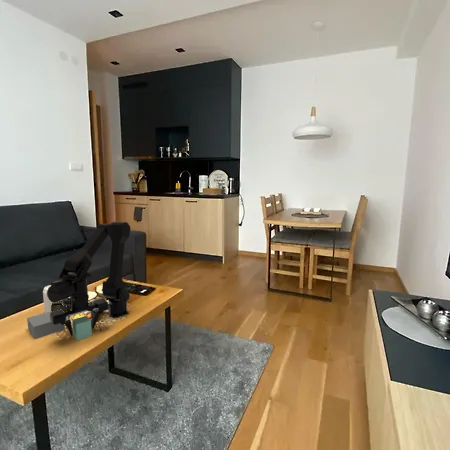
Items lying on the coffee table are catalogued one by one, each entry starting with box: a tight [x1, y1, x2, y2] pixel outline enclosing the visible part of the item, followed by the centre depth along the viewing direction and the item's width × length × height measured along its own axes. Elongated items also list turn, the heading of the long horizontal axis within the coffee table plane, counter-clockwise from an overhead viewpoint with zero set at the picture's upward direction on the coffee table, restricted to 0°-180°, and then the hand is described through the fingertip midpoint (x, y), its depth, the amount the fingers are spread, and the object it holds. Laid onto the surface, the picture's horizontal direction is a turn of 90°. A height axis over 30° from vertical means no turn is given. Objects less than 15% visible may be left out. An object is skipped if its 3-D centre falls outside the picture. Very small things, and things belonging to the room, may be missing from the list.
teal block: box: [71, 315, 93, 341], centre depth 109 cm, size 5×5×6 cm
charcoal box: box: [26, 311, 66, 340], centre depth 113 cm, size 10×10×5 cm
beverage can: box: [42, 284, 62, 313], centre depth 126 cm, size 8×8×12 cm
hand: (82, 332), depth 109 cm, fingers open, 7 cm apart
